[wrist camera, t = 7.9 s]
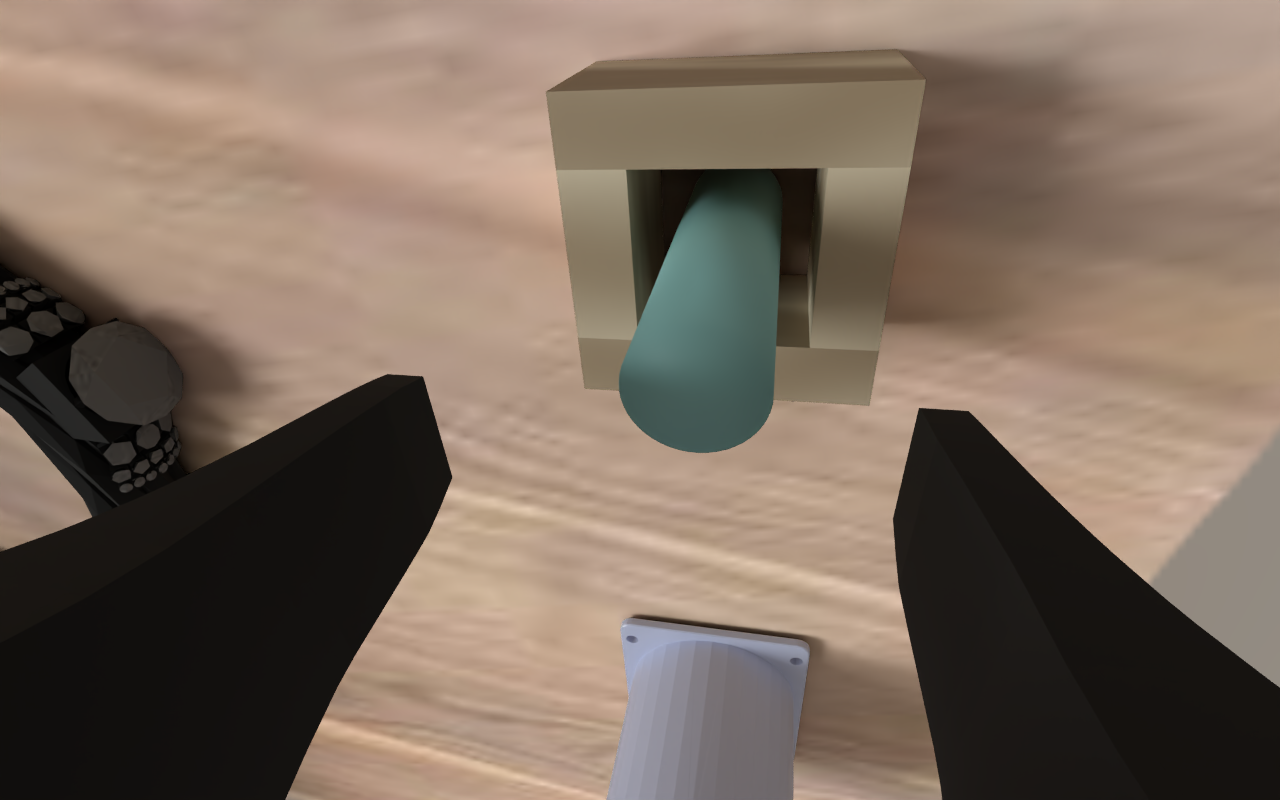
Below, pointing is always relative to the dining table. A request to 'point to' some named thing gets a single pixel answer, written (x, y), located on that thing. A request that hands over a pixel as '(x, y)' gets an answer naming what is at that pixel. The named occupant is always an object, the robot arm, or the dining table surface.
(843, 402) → the beige socket block
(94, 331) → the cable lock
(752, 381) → the peg
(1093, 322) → the dining table surface
